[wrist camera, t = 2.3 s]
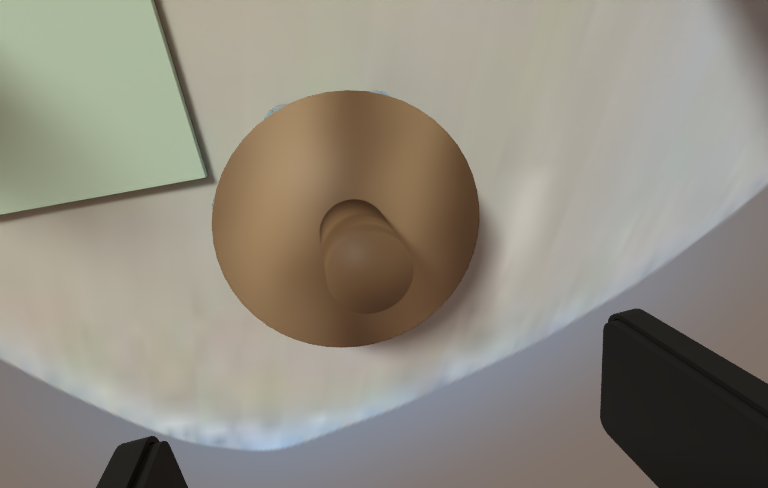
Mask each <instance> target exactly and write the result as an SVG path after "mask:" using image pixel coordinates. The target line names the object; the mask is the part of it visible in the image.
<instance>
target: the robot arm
mask: <svg viewBox="0 0 768 488" xmlns="http://www.w3.org/2000/svg"><path fill="white" fill-rule="evenodd" d="M600 418H601V423H602V425H603V427H604V429H605V431H606V432H607V434H608V435H609V436H610V437H611V438H612V439H613V440H614V441H615V442H616V443H617V444H618V445H619V446H620V447H621V448H622V450H623V451H624V452H625V453H626V454H627V455H628V456H629V457H630V458H631V459H632V460H633V461H634V462H635V463H636V464H637V465H638V466H639V467H640V468H641V470H642V471H643V472H644V473H645V474H646V475H647V476H648V477H649V478H650V479H651V480H652V481H653V482H654V483H655V484H656V485H657V486H658V487H659V488H768V384H767V383H765V382H764V381H762V380H760V379H758V378H757V377H755V376H753V375H752V374H750V373H748V372H747V371H745V370H743V369H742V368H740V367H738V366H736V365H735V364H733V363H731V362H729V361H728V360H726V359H725V358H723V357H721V356H719V355H718V354H716V353H714V352H713V351H711V350H709V349H708V348H706V347H704V346H703V345H701V344H699V343H698V342H696V341H694V340H692V339H691V338H689V337H687V336H686V335H684V334H682V333H680V332H679V331H677V330H676V329H674V328H672V327H670V326H669V325H667V324H665V323H663V322H662V321H660V320H659V319H657V318H655V317H654V316H652V315H650V314H648V313H647V312H645V311H643V310H641V309H632V310H628V311H624V312H620V313H616V314H613V315H611V316H610V318H609V320H608V323H606V324H605V326H604V330H603V356H602V383H601V410H600ZM96 488H188V486H187V484H186V482H185V480H184V477H183V475H182V473H181V470H180V468H179V466H178V463H177V461H176V459H175V457H174V454H173V452H172V450H171V447H170V445H169V444H168V442H166V441H162V442H159V440H158V439H157V438H156V437H155V436H150V437H146V438H143V439H139V440H135V441H131V442H127V443H123V444H121V445H119V446H118V447H117V449H116V450H115V452H114V454H113V456H112V458H111V459H110V461H109V464H108V465H107V467H106V469H105V471H104V473H103V475H102V477H101V479H100V481H99V483H98V485H97V487H96Z"/></svg>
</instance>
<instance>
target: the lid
mask: <svg viewBox="0 0 768 488" xmlns="http://www.w3.org/2000/svg"><path fill="white" fill-rule="evenodd" d="M478 228H479V202H478V195H477V189H476V185H475V182H474V178H473V174H472V172H471V170H470V167H469V165H468V163H467V160H466V158H465V157H464V155H463V153H462V152H461V150H460V148H459V147H458V145H457V144H456V143H455V141H454V140H453V139H452V138H451V136H450V135H449V134H448V133H447V132H446V131H445V130H444V129H443V128H442V127H441V126H440V125H439V124H438V123H437V122H436V121H435V120H434V119H432V118H431V117H429V116H428V115H426V114H425V113H424V112H422V111H421V110H419V109H417V108H415V107H414V106H412V105H410V104H408V103H406V102H404V101H401V100H398V99H395V98H392V97H390V96H387V95H383V94H377V93H372V92H367V91H349V90H346V91H335V92H325V93H321V94H317V95H312V96H308V97H305V98H303V99H300V100H298V101H295V102H293V103H290V104H288V105H286V106H285V107H283V108H281V109H279V110H278V111H276V112H274V113H272V114H271V115H270V116H269V117H267V118H266V119H265V120H263V121H262V122H261V123H259V124H258V125H257V126H256V127H255V128H254V129H253V130H252V131H251V132H250V133H249V134H248V135H247V136H246V137H245V138H244V139H243V140H242V142H241V143H240V144H239V146H238V147H237V148H236V150H235V151H234V153H233V154H232V155H231V157H230V159H229V161H228V163H227V165H226V167H225V169H224V170H223V172H222V175H221V178H220V181H219V184H218V186H217V189H216V194H215V199H214V204H213V213H212V232H213V243H214V247H215V251H216V255H217V259H218V262H219V265H220V267H221V270H222V272H223V275H224V277H225V279H226V280H227V282H228V284H229V286H230V287H231V289H232V291H233V292H234V293H235V295H236V296H237V297H238V299H239V300H240V301H241V302H242V304H243V305H244V306H245V307H246V308H247V309H248V310H249V311H250V312H251V313H252V314H253V315H254V316H256V317H257V318H258V319H260V320H261V321H262V322H263V323H265V324H266V325H267V326H269V327H271V328H273V329H274V330H276V331H278V332H280V333H281V334H284V335H286V336H288V337H291V338H293V339H296V340H299V341H302V342H306V343H309V344H313V345H320V346H326V347H357V346H364V345H369V344H375V343H378V342H381V341H384V340H388V339H391V338H393V337H395V336H398V335H400V334H402V333H404V332H406V331H408V330H410V329H412V328H413V327H415V326H417V325H418V324H420V323H421V322H423V321H424V320H425V319H427V318H428V317H429V316H431V315H432V314H433V313H434V312H435V311H436V310H437V309H438V308H439V307H441V306H442V304H443V303H444V302H445V301H446V300H447V299H448V298H449V297H450V295H451V294H452V293H453V291H454V290H455V289H456V287H457V286H458V284H459V283H460V281H461V279H462V278H463V276H464V274H465V272H466V270H467V268H468V266H469V263H470V261H471V258H472V255H473V253H474V249H475V245H476V241H477V236H478Z"/></svg>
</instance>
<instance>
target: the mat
mask: <svg viewBox="0 0 768 488" xmlns="http://www.w3.org/2000/svg"><path fill="white" fill-rule="evenodd" d="M207 176H208V175H207V172H206V168H205V165H204V162H203V159H202V155H201V152H200V149H199V146H198V142H197V139H196V136H195V133H194V129H193V126H192V123H191V120H190V116H189V113H188V110H187V107H186V103H185V100H184V97H183V94H182V90H181V87H180V84H179V80H178V77H177V74H176V71H175V67H174V64H173V61H172V58H171V54H170V51H169V48H168V45H167V41H166V38H165V35H164V32H163V28H162V25H161V22H160V19H159V15H158V12H157V9H156V6H155V2H154V0H0V215H1V214H7V213H12V212H18V211H23V210H29V209H34V208H40V207H45V206H51V205H56V204H62V203H67V202H73V201H78V200H84V199H89V198H95V197H101V196H106V195H112V194H117V193H123V192H128V191H134V190H139V189H145V188H150V187H156V186H161V185H167V184H172V183H178V182H183V181H189V180H195V179H200V178H205V177H207Z"/></svg>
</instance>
